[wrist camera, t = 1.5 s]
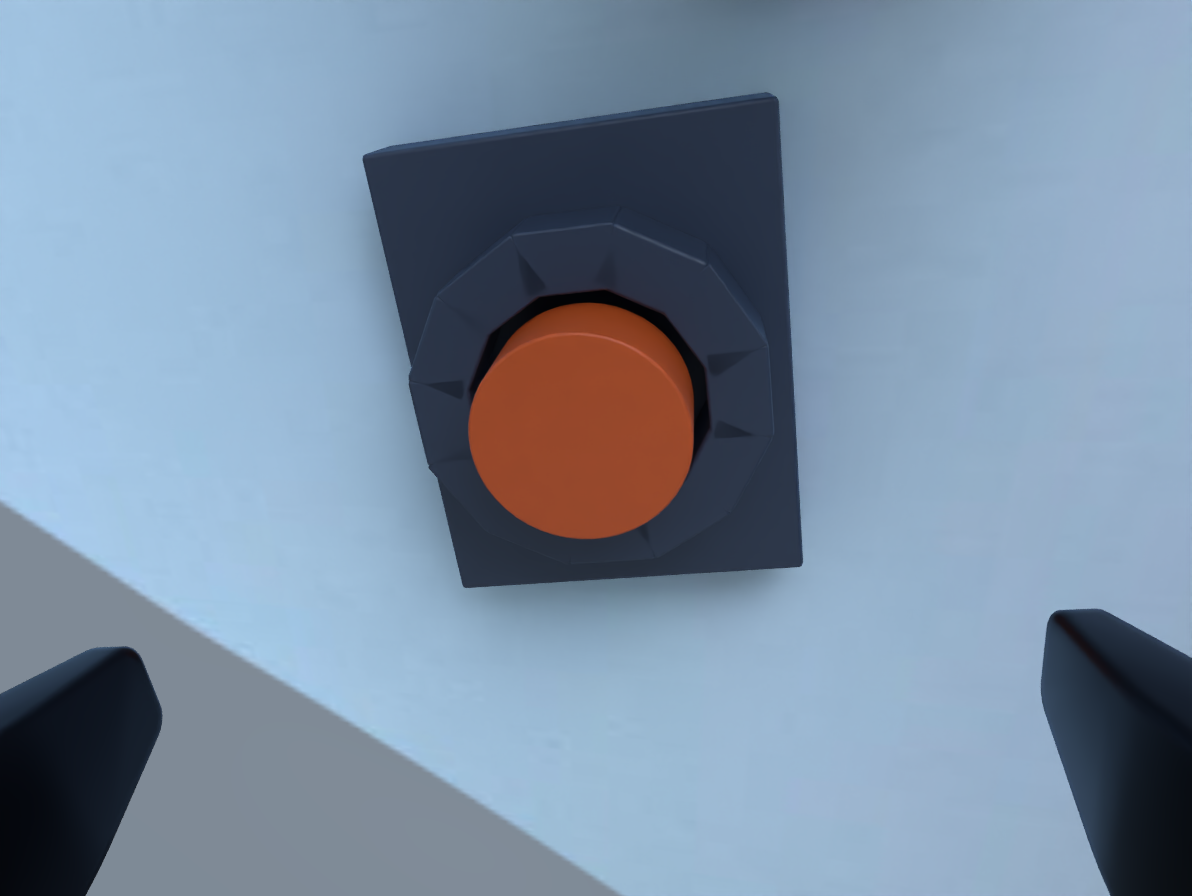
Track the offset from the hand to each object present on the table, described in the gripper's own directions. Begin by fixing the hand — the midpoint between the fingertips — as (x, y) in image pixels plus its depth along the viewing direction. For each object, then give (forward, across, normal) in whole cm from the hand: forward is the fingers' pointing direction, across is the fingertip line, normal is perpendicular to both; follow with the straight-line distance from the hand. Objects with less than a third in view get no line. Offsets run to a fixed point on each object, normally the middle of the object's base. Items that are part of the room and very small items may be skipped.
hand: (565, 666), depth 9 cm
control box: (+12, +1, +1) cm, 12 cm away
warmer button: (+9, +1, +1) cm, 9 cm away
